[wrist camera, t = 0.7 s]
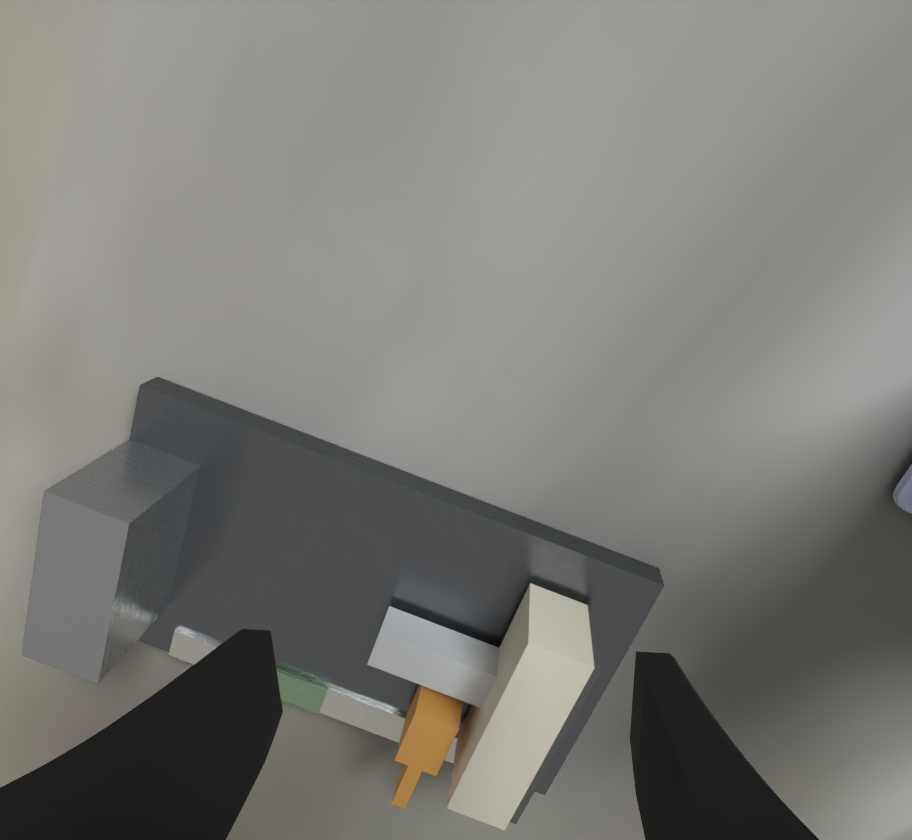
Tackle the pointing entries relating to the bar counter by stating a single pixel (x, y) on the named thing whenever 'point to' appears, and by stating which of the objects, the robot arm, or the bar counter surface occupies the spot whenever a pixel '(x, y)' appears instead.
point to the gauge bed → (295, 561)
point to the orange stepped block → (425, 739)
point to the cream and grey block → (501, 694)
